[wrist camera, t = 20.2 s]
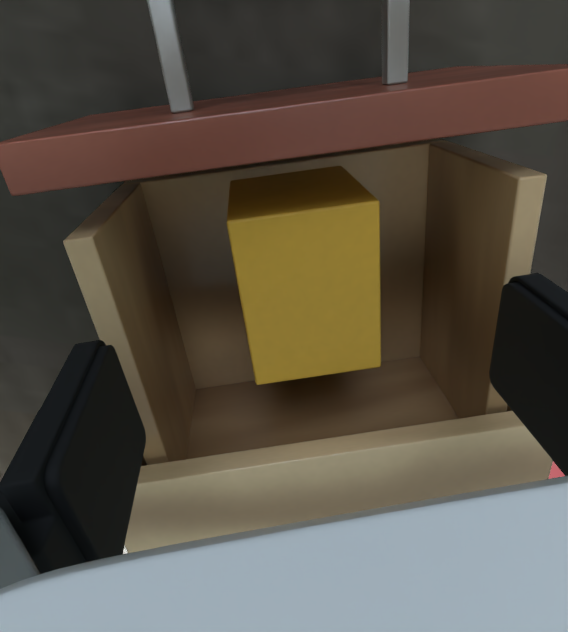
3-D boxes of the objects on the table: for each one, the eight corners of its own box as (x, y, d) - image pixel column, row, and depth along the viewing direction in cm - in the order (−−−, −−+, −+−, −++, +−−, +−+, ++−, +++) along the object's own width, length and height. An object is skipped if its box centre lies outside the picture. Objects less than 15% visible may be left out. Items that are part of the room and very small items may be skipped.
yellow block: (229, 180, 18) (226, 221, 13) (342, 164, 18) (380, 199, 13) (252, 312, 20) (256, 386, 16) (348, 298, 21) (381, 368, 16)
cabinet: (149, 336, 23) (97, 490, 15) (447, 293, 23) (564, 420, 15) (206, 518, 30) (193, 691, 22) (432, 484, 30) (506, 641, 22)
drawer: (35, -63, 14) (-148, -183, 8) (471, -117, 15) (672, -279, 8) (172, 391, 24) (145, 521, 17) (439, 352, 24) (518, 464, 17)
